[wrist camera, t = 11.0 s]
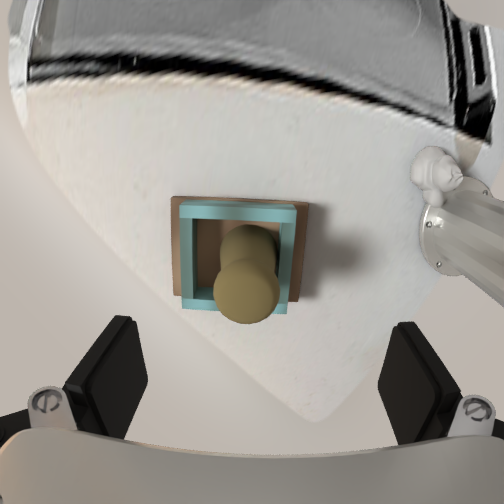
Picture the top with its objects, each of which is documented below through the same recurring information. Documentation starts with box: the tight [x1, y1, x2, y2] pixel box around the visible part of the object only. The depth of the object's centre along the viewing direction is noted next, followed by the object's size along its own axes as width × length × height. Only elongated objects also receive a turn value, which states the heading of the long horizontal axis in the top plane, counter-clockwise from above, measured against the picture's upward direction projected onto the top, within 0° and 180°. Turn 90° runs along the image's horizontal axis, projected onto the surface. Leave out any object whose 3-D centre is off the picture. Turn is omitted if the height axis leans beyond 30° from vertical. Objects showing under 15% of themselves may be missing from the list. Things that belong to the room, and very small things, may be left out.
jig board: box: [171, 196, 309, 314], centre depth 33 cm, size 14×11×4 cm
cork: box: [213, 224, 280, 324], centre depth 29 cm, size 6×6×11 cm
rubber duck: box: [410, 146, 464, 208], centre depth 28 cm, size 5×7×8 cm
